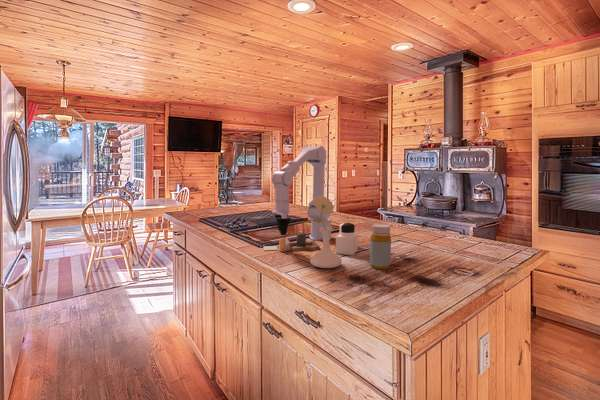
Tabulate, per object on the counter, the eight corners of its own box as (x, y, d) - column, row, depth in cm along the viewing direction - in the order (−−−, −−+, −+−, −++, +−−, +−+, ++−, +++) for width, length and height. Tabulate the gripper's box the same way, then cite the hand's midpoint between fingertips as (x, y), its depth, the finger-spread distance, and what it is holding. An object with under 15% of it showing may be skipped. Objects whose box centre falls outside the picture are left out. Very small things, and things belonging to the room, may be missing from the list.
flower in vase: (348, 267, 120) (349, 197, 117) (322, 273, 114) (323, 199, 111) (326, 258, 131) (326, 193, 128) (301, 263, 125) (301, 195, 122)
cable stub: (305, 245, 150) (305, 232, 149) (306, 248, 146) (306, 234, 145) (296, 246, 149) (296, 232, 148) (297, 248, 145) (297, 234, 144)
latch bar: (287, 244, 151) (287, 233, 150) (290, 251, 141) (290, 239, 140) (277, 245, 150) (277, 234, 150) (280, 251, 140) (279, 239, 140)
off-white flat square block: (276, 246, 149) (276, 245, 149) (277, 250, 143) (277, 249, 143) (263, 247, 148) (263, 246, 148) (264, 250, 142) (264, 250, 142)
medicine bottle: (357, 251, 141) (358, 222, 140) (352, 255, 135) (353, 225, 133) (341, 249, 144) (341, 221, 143) (335, 253, 138) (335, 224, 136)
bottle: (367, 264, 124) (368, 223, 122) (386, 263, 125) (387, 223, 123) (373, 270, 117) (374, 227, 115) (392, 269, 118) (394, 227, 116)
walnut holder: (314, 243, 154) (314, 241, 153) (319, 249, 144) (319, 246, 144) (288, 244, 152) (288, 242, 151) (291, 250, 142) (291, 248, 142)
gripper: (270, 198, 146) (271, 229, 147) (274, 202, 131) (274, 237, 133) (287, 198, 147) (287, 229, 148) (292, 202, 133) (292, 236, 134)
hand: (282, 232), depth 141 cm, fingers open, 7 cm apart
